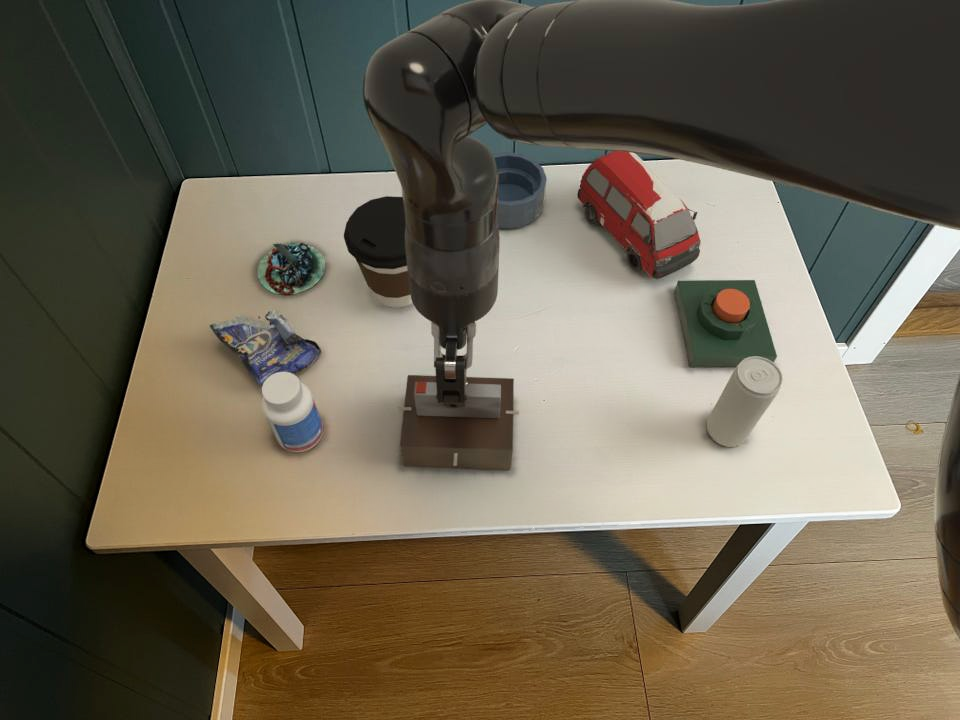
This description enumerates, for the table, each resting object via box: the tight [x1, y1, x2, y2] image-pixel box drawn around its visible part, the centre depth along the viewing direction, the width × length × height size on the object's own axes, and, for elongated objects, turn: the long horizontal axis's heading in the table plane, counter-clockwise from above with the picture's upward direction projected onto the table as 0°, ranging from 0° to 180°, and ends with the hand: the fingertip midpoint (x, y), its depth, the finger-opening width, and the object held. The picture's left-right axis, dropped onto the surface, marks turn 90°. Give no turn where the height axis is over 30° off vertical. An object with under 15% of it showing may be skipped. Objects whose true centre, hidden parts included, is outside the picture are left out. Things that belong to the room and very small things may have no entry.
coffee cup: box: [343, 195, 413, 309], centre depth 91 cm, size 11×11×12 cm
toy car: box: [576, 151, 701, 280], centre depth 97 cm, size 9×18×10 cm, turn 26°
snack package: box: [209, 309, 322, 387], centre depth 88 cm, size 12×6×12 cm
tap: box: [414, 382, 501, 418], centre depth 78 cm, size 9×2×5 cm, turn 88°
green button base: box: [674, 279, 778, 368], centre depth 91 cm, size 12×10×4 cm
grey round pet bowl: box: [492, 151, 548, 229], centre depth 103 cm, size 10×10×5 cm
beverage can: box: [706, 356, 784, 448], centre depth 79 cm, size 5×5×12 cm
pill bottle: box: [261, 372, 324, 453], centre depth 80 cm, size 6×5×10 cm
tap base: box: [397, 374, 520, 471], centre depth 82 cm, size 13×13×5 cm
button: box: [713, 289, 750, 323], centre depth 89 cm, size 4×4×2 cm
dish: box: [257, 241, 326, 296], centre depth 97 cm, size 8×7×8 cm
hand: (456, 366), depth 73 cm, fingers open, 8 cm apart
